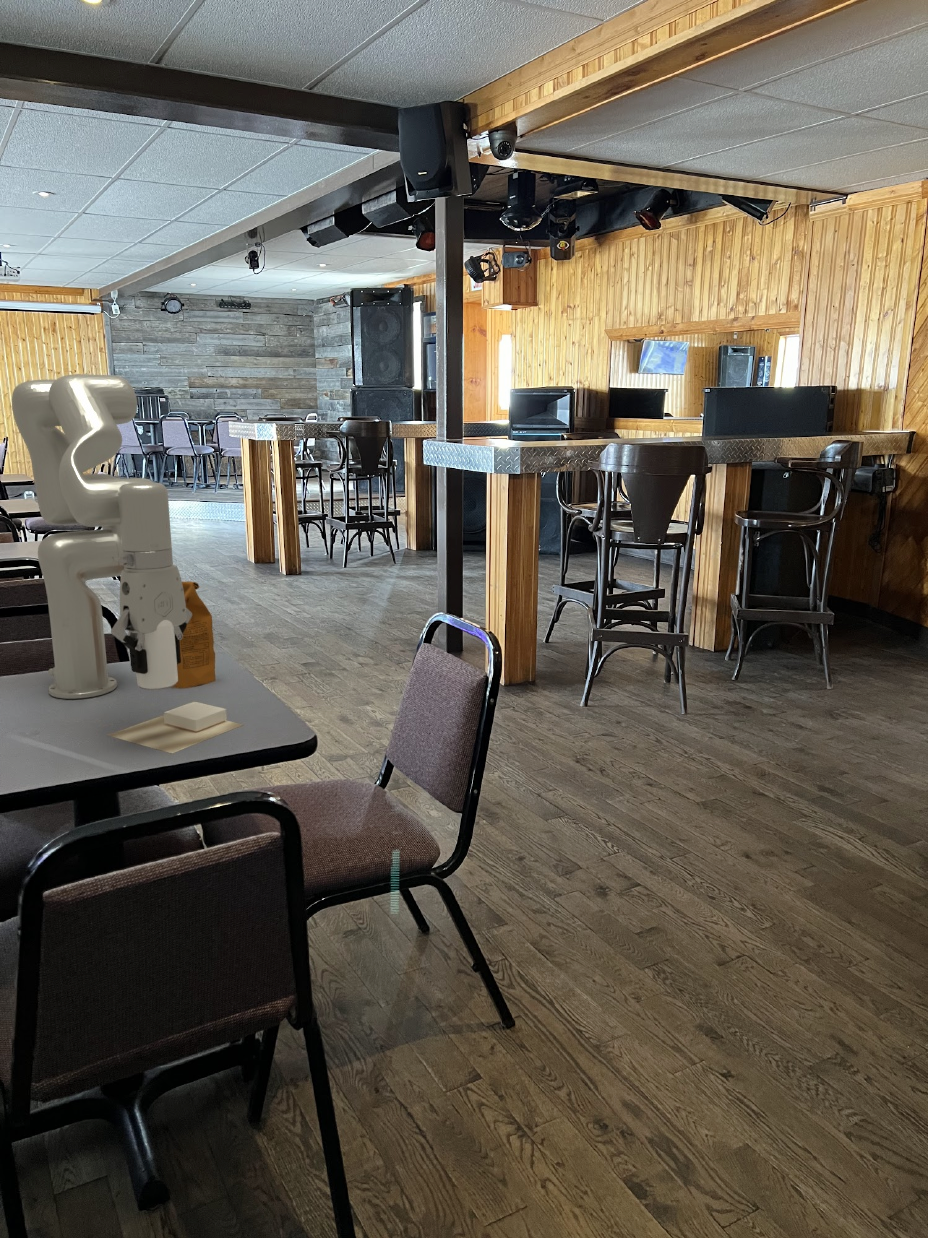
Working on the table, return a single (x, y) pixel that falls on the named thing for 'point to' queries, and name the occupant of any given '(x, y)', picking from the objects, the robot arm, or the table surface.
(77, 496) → the robot arm
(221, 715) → the tile
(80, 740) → the table surface
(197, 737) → the cloth
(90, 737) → the table surface
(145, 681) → the can
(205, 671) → the coffee package
